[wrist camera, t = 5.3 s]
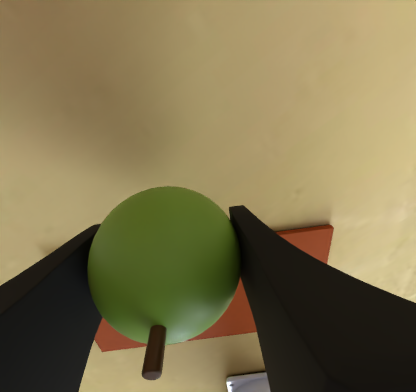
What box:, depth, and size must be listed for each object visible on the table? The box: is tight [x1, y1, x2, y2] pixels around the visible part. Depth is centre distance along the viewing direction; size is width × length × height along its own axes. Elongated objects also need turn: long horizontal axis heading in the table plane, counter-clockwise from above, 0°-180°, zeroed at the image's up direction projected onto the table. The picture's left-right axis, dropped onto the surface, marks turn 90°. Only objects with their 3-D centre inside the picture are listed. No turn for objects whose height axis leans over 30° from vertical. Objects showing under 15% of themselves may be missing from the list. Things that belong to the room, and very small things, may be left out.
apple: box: [87, 186, 241, 380], centre depth 8 cm, size 5×5×7 cm
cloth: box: [94, 225, 334, 352], centre depth 17 cm, size 11×20×1 cm, turn 97°
